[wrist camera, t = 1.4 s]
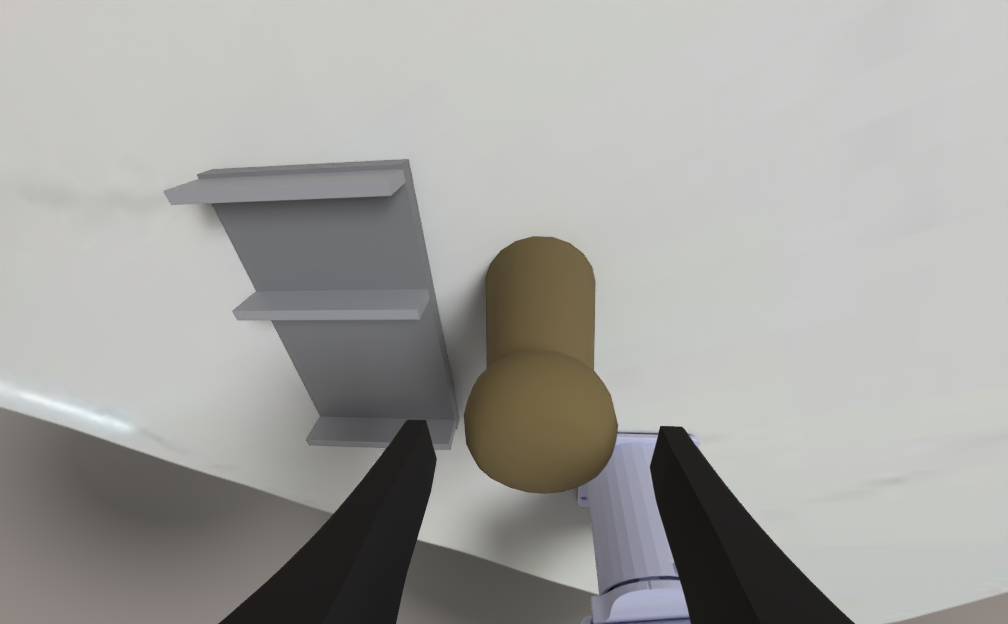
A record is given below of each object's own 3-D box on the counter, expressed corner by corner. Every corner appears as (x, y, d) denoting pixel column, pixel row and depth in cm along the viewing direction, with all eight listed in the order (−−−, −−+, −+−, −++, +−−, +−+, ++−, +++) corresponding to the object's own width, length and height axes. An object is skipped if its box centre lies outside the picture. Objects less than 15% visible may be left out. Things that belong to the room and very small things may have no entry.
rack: (459, 417, 27) (451, 453, 25) (331, 414, 28) (311, 448, 26) (408, 159, 17) (386, 175, 15) (212, 169, 18) (160, 186, 16)
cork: (514, 343, 23) (497, 529, 14) (465, 263, 20) (403, 431, 11) (610, 310, 21) (664, 501, 12) (570, 216, 18) (602, 373, 9)
